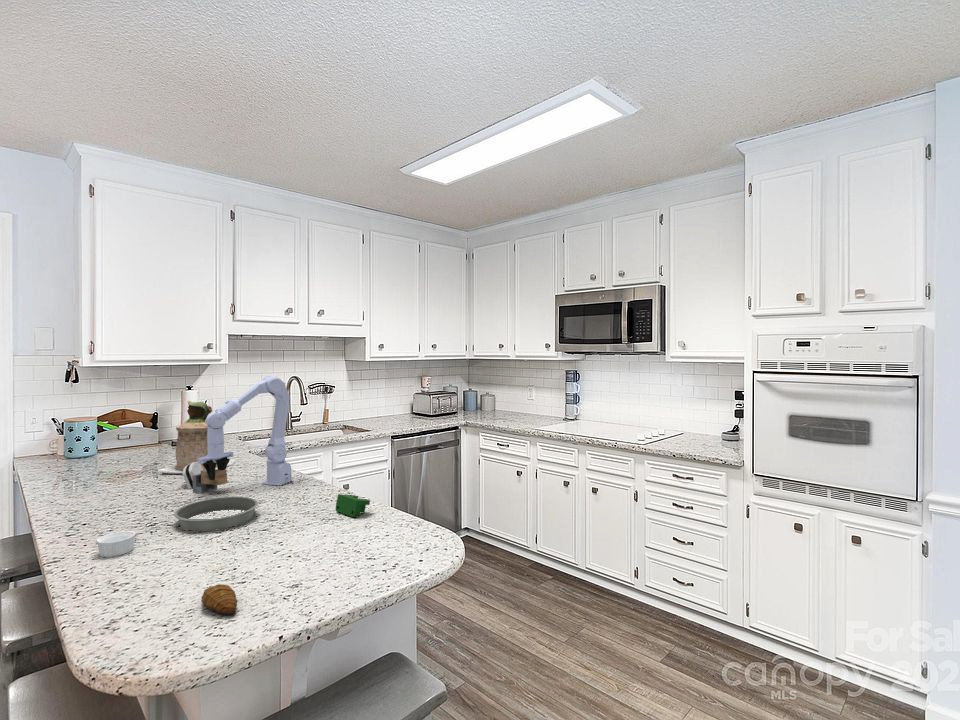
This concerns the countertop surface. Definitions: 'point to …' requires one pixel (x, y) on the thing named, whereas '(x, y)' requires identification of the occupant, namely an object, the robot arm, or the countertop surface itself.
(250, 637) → the countertop surface
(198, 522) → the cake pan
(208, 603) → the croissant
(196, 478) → the grey metal bench
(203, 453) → the cookie jar
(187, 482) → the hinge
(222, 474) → the block
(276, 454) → the robot arm
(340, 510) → the green wheelie bin
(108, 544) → the ramekin
